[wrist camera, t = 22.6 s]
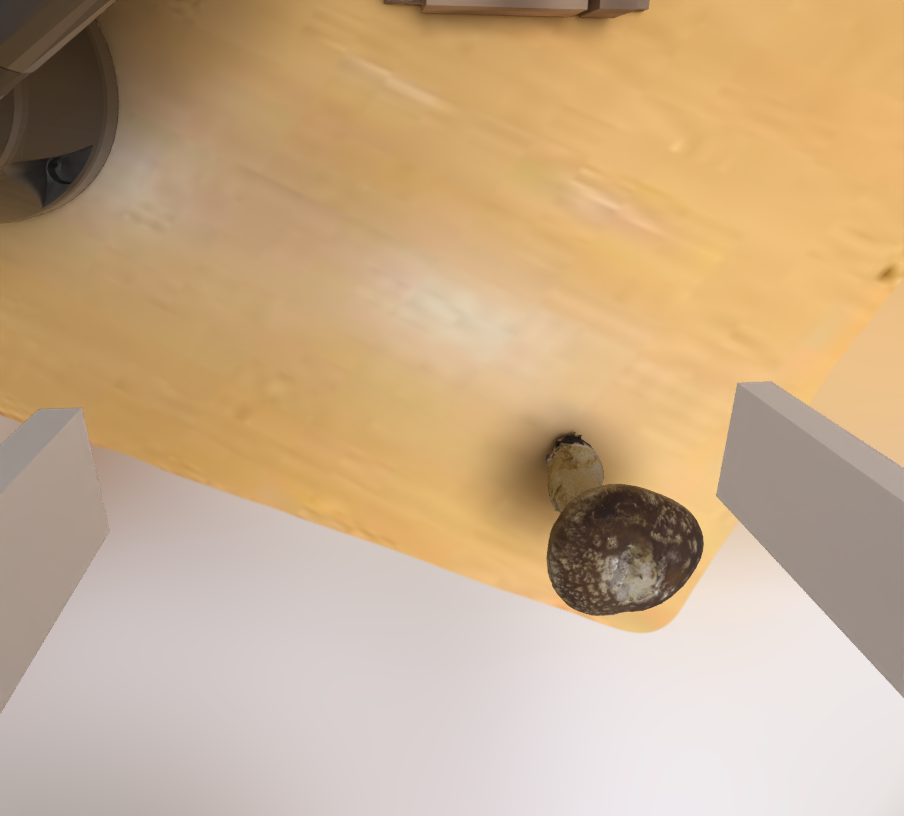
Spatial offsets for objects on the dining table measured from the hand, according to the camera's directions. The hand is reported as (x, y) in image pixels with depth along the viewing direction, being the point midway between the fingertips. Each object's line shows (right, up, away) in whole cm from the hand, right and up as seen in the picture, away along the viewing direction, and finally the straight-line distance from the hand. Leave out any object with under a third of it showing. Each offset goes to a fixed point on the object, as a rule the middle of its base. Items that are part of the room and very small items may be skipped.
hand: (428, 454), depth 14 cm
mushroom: (+9, -3, +37) cm, 38 cm away
